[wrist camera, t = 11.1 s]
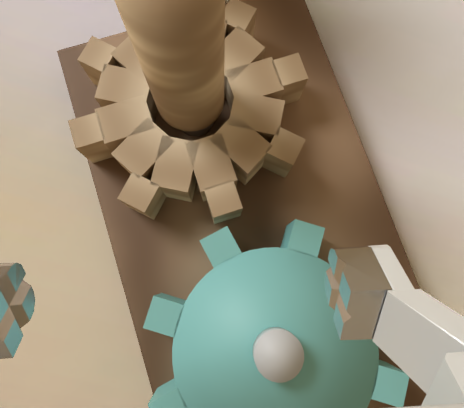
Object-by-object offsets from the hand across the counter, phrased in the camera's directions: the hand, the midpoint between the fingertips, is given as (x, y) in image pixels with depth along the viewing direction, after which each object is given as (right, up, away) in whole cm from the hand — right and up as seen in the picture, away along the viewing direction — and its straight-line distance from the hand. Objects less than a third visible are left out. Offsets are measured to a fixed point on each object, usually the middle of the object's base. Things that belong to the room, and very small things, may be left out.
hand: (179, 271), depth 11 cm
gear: (+3, -5, +9) cm, 10 cm away
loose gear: (-1, +6, +10) cm, 12 cm away
